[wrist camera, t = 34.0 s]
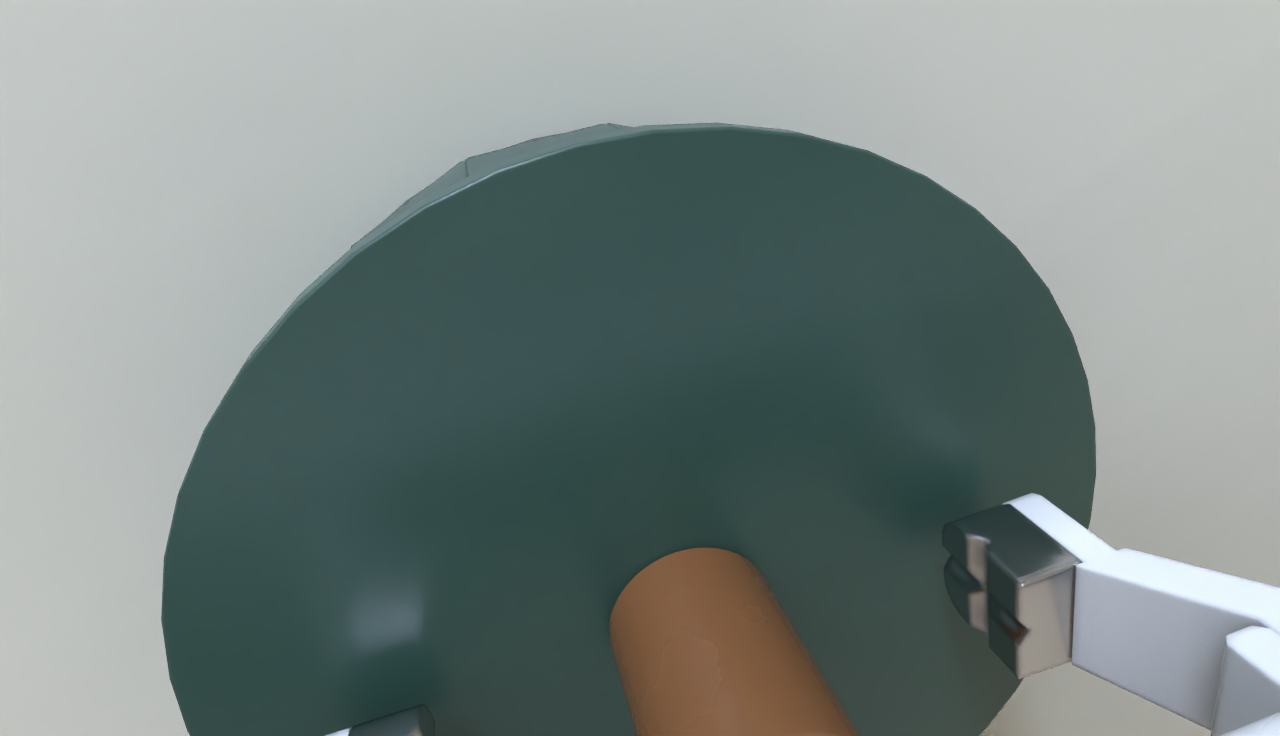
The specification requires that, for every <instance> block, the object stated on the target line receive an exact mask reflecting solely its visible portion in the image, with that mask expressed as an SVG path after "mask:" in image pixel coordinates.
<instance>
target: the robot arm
mask: <svg viewBox="0 0 1280 736" xmlns="http://www.w3.org/2000/svg"><path fill="white" fill-rule="evenodd" d="M942 546H943V547H944V548H945V549H946V550H947V551H948V552H949V553H950V554H951V555H950V557H949V559H948V561H947V562H946V564H945V566H944V568H943V569H944V580H945V586H946V589H947V591H948V594H949V597H950V599H951V602H952V603H953V605H954V607H955V608H956V610H957V611H958V613H959V614H960V615H961V617H962V618H963V619H964V620H965V621H966V622H967V623H968V625H969V626H971V627H974V628H976V629H979V630H982V631H984V632H987V633H989V648H990V649H991V650H992V651H993V652H994V653H995V654H996V655H997V656H998V657H999V658H1000V659H1001V661H1002V662H1003V663H1004V664H1005V665H1006V666H1007V667H1008V668H1009V669H1010V670H1011V671H1012V672H1013V673H1014V675H1015V676H1016V677H1017V678H1018V679H1021V678H1024V677H1027V676H1030V675H1033V674H1036V673H1039V672H1041V671H1044V670H1047V669H1050V668H1053V667H1056V666H1059V665H1062V664H1065V663H1068V662H1071V661H1072V665H1074V666H1076V667H1079V668H1081V669H1083V670H1085V671H1087V672H1089V673H1091V674H1093V675H1095V676H1098V677H1100V678H1102V679H1104V680H1106V681H1108V682H1110V683H1112V684H1114V685H1117V686H1119V687H1121V688H1123V689H1125V690H1127V691H1129V692H1131V693H1133V694H1136V695H1138V696H1140V697H1142V698H1144V699H1146V700H1148V701H1150V702H1152V703H1154V704H1157V705H1159V706H1161V707H1163V708H1165V709H1167V710H1169V711H1171V712H1173V713H1176V714H1178V715H1180V716H1182V717H1184V718H1186V719H1188V720H1190V721H1192V722H1195V723H1197V724H1199V725H1201V726H1203V727H1205V728H1207V729H1209V730H1211V736H1280V587H1276V586H1272V585H1268V584H1264V583H1260V582H1256V581H1252V580H1249V579H1245V578H1241V577H1237V576H1233V575H1229V574H1225V573H1221V572H1217V571H1214V570H1210V569H1206V568H1202V567H1198V566H1194V565H1190V564H1186V563H1182V562H1179V561H1175V560H1171V559H1167V558H1163V557H1159V556H1155V555H1151V554H1147V553H1144V552H1140V551H1136V550H1132V549H1128V548H1123V549H1120V550H1118V551H1116V550H1115V549H1113V548H1112V547H1111V546H1109V545H1108V544H1107V543H1105V542H1104V541H1102V540H1101V539H1100V538H1098V537H1097V536H1096V535H1094V534H1093V533H1092V532H1090V531H1089V530H1087V529H1086V528H1085V527H1083V526H1082V525H1081V524H1079V523H1078V522H1077V521H1075V520H1074V519H1072V518H1071V517H1070V516H1068V515H1067V514H1066V513H1064V512H1063V511H1062V510H1060V509H1059V508H1057V507H1056V506H1055V505H1053V504H1052V503H1051V502H1049V501H1048V500H1047V499H1045V498H1044V497H1043V496H1041V495H1038V494H1035V493H1030V494H1027V495H1024V496H1021V497H1019V498H1016V499H1013V500H1010V501H1007V502H1005V503H1003V504H1002V505H997V506H994V507H991V508H989V509H986V510H983V511H980V512H977V513H974V514H972V515H969V516H966V517H963V518H960V519H958V520H955V521H952V522H949V523H946V524H945V525H944V527H943V530H942ZM325 736H435V720H434V718H433V716H432V714H431V712H430V710H429V709H428V707H427V705H424V704H420V705H417V706H414V707H411V708H407V709H404V710H401V711H398V712H395V713H392V714H389V715H385V716H382V717H379V718H376V719H373V720H370V721H366V722H363V723H360V724H357V725H354V726H353V727H351V728H348V729H344V730H341V731H338V732H335V733H331V734H328V735H325Z"/></svg>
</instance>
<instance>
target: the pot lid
mask: <svg viewBox="0 0 1280 736" xmlns="http://www.w3.org/2000/svg"><path fill="white" fill-rule="evenodd" d="M1095 477H1096V446H1095V423H1094V417H1093V410H1092V404H1091V398H1090V392H1089V386H1088V380H1087V377H1086V374H1085V371H1084V368H1083V365H1082V362H1081V359H1080V356H1079V353H1078V350H1077V346H1076V343H1075V340H1074V337H1073V334H1072V332H1071V330H1070V328H1069V327H1068V325H1067V323H1066V321H1065V319H1064V317H1063V315H1062V313H1061V311H1060V309H1059V307H1058V306H1057V304H1056V302H1055V300H1054V298H1053V296H1052V294H1051V292H1050V290H1049V289H1048V287H1047V286H1046V285H1045V283H1044V282H1043V281H1042V279H1041V278H1040V277H1039V275H1038V274H1037V273H1036V272H1035V270H1034V269H1033V268H1032V266H1031V265H1030V264H1029V262H1028V261H1027V260H1026V258H1025V257H1024V256H1023V254H1022V253H1021V252H1020V251H1019V249H1018V248H1017V247H1016V246H1015V245H1014V244H1013V243H1012V242H1011V241H1010V240H1009V239H1008V238H1007V237H1006V236H1005V235H1004V234H1002V233H1001V232H1000V231H999V230H998V229H997V228H996V227H995V226H994V225H993V224H992V223H991V222H990V221H988V220H987V219H986V218H985V217H984V216H983V215H982V214H981V213H980V212H979V211H978V210H977V209H976V208H974V207H972V206H971V205H969V204H968V203H966V202H965V201H963V200H962V199H960V198H959V197H957V196H956V195H954V194H953V193H951V192H949V191H948V190H946V189H945V188H943V187H942V186H940V185H939V184H937V183H936V182H934V181H933V180H931V179H930V178H928V177H927V176H925V175H922V174H920V173H918V172H915V171H913V170H911V169H909V168H906V167H904V166H902V165H899V164H897V163H895V162H893V161H890V160H888V159H886V158H884V157H881V156H879V155H877V154H874V153H872V152H870V151H867V150H863V149H860V148H856V147H852V146H848V145H844V144H840V143H837V142H833V141H829V140H825V139H821V138H817V137H814V136H810V135H806V134H802V133H798V132H793V131H789V130H782V129H773V128H763V127H753V126H744V125H734V124H725V123H697V124H673V125H648V126H639V127H634V128H629V129H623V130H618V131H612V132H607V133H601V134H596V135H590V136H585V137H579V138H574V139H569V140H566V141H563V142H559V143H556V144H553V145H550V146H547V147H544V148H541V149H538V150H535V151H532V152H529V153H526V154H523V155H520V156H517V157H514V158H511V159H508V160H505V161H502V162H499V163H496V164H493V165H491V166H489V167H487V168H485V169H483V170H481V171H479V172H477V173H475V174H473V175H471V176H469V177H467V178H464V179H462V180H460V181H458V182H456V183H454V184H452V185H450V186H448V187H446V188H444V189H442V190H440V191H438V192H436V193H434V194H432V195H430V196H428V197H425V198H423V199H422V200H420V201H419V202H417V203H416V204H414V205H413V206H411V207H410V208H409V209H407V210H406V211H404V212H403V213H401V214H400V215H398V216H397V217H395V218H394V219H392V220H391V221H389V222H388V223H386V224H385V225H383V226H382V227H380V228H379V229H377V230H376V231H374V232H373V233H371V234H370V235H368V236H367V237H365V238H364V239H362V240H361V241H359V242H358V243H357V244H356V245H354V246H353V247H352V248H351V249H350V250H349V251H348V252H347V253H345V254H344V255H343V256H342V257H341V258H340V259H339V260H338V261H337V262H335V263H334V264H333V265H332V266H331V267H330V268H329V269H328V270H326V271H325V272H324V273H323V274H322V275H321V276H320V277H319V278H317V279H316V280H315V281H314V282H313V283H312V284H311V285H310V286H309V287H307V288H306V289H305V290H304V291H303V292H302V293H301V294H300V295H299V296H298V297H297V298H296V300H295V301H294V302H293V303H292V304H291V306H290V307H289V308H288V309H287V310H286V312H285V313H284V314H283V315H282V316H281V318H280V319H279V320H278V321H277V322H276V323H275V325H274V326H273V327H272V328H271V329H270V331H269V332H268V333H267V334H266V335H265V337H264V338H263V339H262V340H261V341H260V343H259V344H258V345H257V346H256V347H255V349H254V350H253V351H252V352H251V354H250V356H249V357H248V359H247V360H246V362H245V363H244V365H243V366H242V368H241V370H240V371H239V373H238V375H237V376H236V378H235V380H234V381H233V383H232V385H231V386H230V388H229V389H228V391H227V393H226V394H225V396H224V398H223V399H222V401H221V403H220V404H219V406H218V408H217V409H216V411H215V413H214V414H213V416H212V417H211V419H210V421H209V422H208V424H207V426H206V427H205V429H204V431H203V434H202V436H201V439H200V441H199V444H198V446H197V449H196V451H195V453H194V456H193V458H192V461H191V463H190V466H189V468H188V471H187V473H186V476H185V478H184V481H183V483H182V485H181V488H180V490H179V493H178V496H177V501H176V505H175V510H174V514H173V519H172V523H171V528H170V533H169V537H168V542H167V546H166V551H165V555H164V567H163V592H162V617H161V620H162V627H163V634H164V641H165V648H166V655H167V662H168V669H169V676H170V680H171V683H172V686H173V689H174V692H175V695H176V698H177V701H178V704H179V707H180V710H181V713H182V716H183V719H184V722H185V725H186V728H187V731H188V733H189V735H190V736H325V735H328V734H331V733H335V732H338V731H341V730H344V729H348V728H351V727H353V726H354V725H357V724H360V723H363V722H366V721H370V720H373V719H376V718H379V717H382V716H385V715H389V714H392V713H395V712H398V711H401V710H404V709H407V708H411V707H414V706H417V705H420V704H424V705H427V707H428V709H429V710H430V712H431V714H432V716H433V718H434V720H435V736H979V735H980V734H981V733H982V732H983V731H984V730H985V729H986V728H987V727H988V725H989V724H990V723H991V721H992V720H993V719H994V718H995V716H996V715H997V714H998V712H999V711H1000V710H1001V709H1002V707H1003V706H1004V705H1005V703H1006V702H1007V701H1008V700H1009V698H1010V697H1011V696H1012V694H1013V693H1014V692H1015V691H1016V689H1017V688H1018V686H1019V685H1020V683H1021V681H1022V680H1023V678H1021V679H1018V678H1017V677H1016V676H1015V675H1014V673H1013V672H1012V671H1011V670H1010V669H1009V668H1008V667H1007V666H1006V665H1005V664H1004V663H1003V662H1002V661H1001V659H1000V658H999V657H998V656H997V655H996V654H995V653H994V652H993V651H992V650H991V649H990V648H989V633H987V632H984V631H982V630H979V629H976V628H974V627H971V626H969V625H968V623H967V622H966V621H965V620H964V619H963V618H962V617H961V615H960V614H959V613H958V611H957V610H956V608H955V607H954V605H953V603H952V602H951V599H950V597H949V594H948V591H947V589H946V586H945V580H944V569H943V568H944V566H945V564H946V562H947V561H948V559H949V557H950V555H951V554H950V553H949V552H948V551H947V550H946V549H945V548H944V547H943V546H942V530H943V527H944V525H945V524H946V523H949V522H952V521H955V520H958V519H960V518H963V517H966V516H969V515H972V514H974V513H977V512H980V511H983V510H986V509H989V508H991V507H994V506H997V505H1002V504H1003V503H1005V502H1007V501H1010V500H1013V499H1016V498H1019V497H1021V496H1024V495H1027V494H1030V493H1035V494H1038V495H1041V496H1043V497H1044V498H1045V499H1047V500H1048V501H1049V502H1051V503H1052V504H1053V505H1055V506H1056V507H1057V508H1059V509H1060V510H1062V511H1063V512H1064V513H1066V514H1067V515H1068V516H1070V517H1071V518H1072V519H1074V520H1075V521H1077V522H1078V523H1079V524H1081V525H1082V526H1083V527H1085V528H1086V529H1087V530H1088V527H1089V523H1090V518H1091V510H1092V502H1093V494H1094V486H1095Z"/></svg>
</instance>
